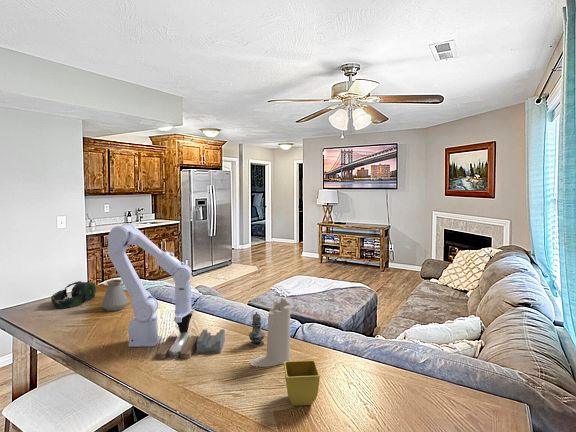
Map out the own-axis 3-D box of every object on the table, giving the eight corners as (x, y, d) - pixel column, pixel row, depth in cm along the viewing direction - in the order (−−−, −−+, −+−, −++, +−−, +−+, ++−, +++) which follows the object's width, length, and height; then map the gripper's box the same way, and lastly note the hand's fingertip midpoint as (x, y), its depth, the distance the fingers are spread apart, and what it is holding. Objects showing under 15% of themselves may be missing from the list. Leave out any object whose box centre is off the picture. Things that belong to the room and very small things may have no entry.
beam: (156, 359, 120) (156, 353, 120) (169, 340, 134) (168, 336, 134) (189, 358, 120) (189, 353, 120) (199, 340, 134) (198, 335, 134)
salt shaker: (262, 348, 128) (262, 315, 127) (246, 346, 130) (246, 313, 128) (266, 341, 134) (266, 309, 133) (251, 339, 135) (251, 308, 134)
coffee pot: (112, 314, 161) (111, 281, 160) (95, 310, 167) (94, 278, 165) (150, 301, 180) (150, 271, 179) (135, 297, 185) (134, 268, 184)
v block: (196, 353, 124) (196, 341, 124) (203, 340, 134) (202, 329, 134) (220, 352, 125) (220, 341, 124) (224, 340, 134) (224, 329, 134)
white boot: (246, 360, 120) (245, 300, 118) (284, 352, 125) (285, 295, 123) (252, 370, 113) (252, 307, 111) (293, 361, 118) (293, 301, 117)
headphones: (74, 284, 188) (41, 302, 170) (87, 268, 184) (54, 285, 165) (92, 302, 189) (61, 322, 170) (105, 287, 184) (75, 305, 165)
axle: (179, 358, 121) (181, 347, 121) (167, 357, 121) (169, 345, 121) (188, 343, 133) (190, 332, 133) (177, 341, 133) (179, 331, 133)
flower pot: (283, 391, 101) (283, 360, 100) (314, 390, 102) (314, 359, 101) (286, 411, 93) (286, 377, 92) (320, 409, 93) (320, 376, 93)
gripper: (189, 304, 126) (190, 342, 127) (198, 292, 140) (199, 326, 141) (168, 304, 126) (169, 342, 127) (179, 292, 140) (180, 326, 141)
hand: (183, 334), depth 134 cm, fingers closed
